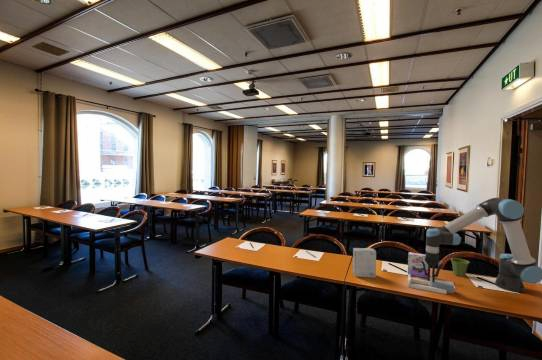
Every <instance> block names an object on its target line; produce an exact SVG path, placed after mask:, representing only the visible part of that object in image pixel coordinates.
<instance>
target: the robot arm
mask: <svg viewBox="0 0 542 360" xmlns="http://www.w3.org/2000/svg"><path fill="white" fill-rule="evenodd" d="M524 212H525V207H524V206H523V204H522V203H520V202H519V201H517V200H514V199H511V198H504V197H503V198H501V197H492V198H491V197H490V198H488V199H487V200H484V201H482V202H480V203H479V204H477V205H476V206H475V208H473V209H471V210H470V211H467V212H466V213H464V214H462V215H461V216H459V217H457V218H455V219H453V220H452V221H450V222H448V223H446V224H444V225H443V226H440V227H434V228H428V229H426V234H425V235H426V236H425V237H426V241H425V255H426V256H425V259H424V260H421V263H422V264H423V268H424V272H425V275H427V276H428V278H427V281H429V285H428V287H432V282H434V281H435V279H436V278H438V277H439V274H440V271H441V268H442V267H443V265H444V264H443V262H440V260H439V256H440V255H439V253H440V245H452V246H458V245H460V243H461V237H460V235H459V234H458V233H457V232H459V231H461V230H463V229H465V228H467V227H468V226H470V225H472V224H475V222H478V221H479V220H481V219H483V218H488V217H490V216H494V215H495V216H496V218H497V221H498V222H499V223H501V224H502V226H503V227H502V228H503V230H504V233H505V235H506V239H507V243H508V245H509V249H510V251H511V253H500V254H499V258H498V259H499V263H498V264H499V265H498V275H497V276H496V279H495V281H494V284H495V286H497V288H500V289H503V290H506V291H510V292H515V293H524V292H525V291H526V287H525V283H529V284H537V283H540V282H541V281H542V267H540V266H538V264H537V261H536V259H535V258H534V257H532V256H531V253H530V249H529V247H528V243H527V240H526V236H525V233H524V231H523V228H522V224H521V221H522V219H523V217H522V216H524V214H525V213H524ZM425 261H426V263H427V264H428V273H427V272H426V268H425V264H424V263H425ZM431 266H432V267H431ZM436 266H437V268H436ZM431 268H432V269H431ZM431 271H432V272H431ZM524 282H525V283H524Z"/></svg>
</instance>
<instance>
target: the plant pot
mask: <svg viewBox="0 0 542 360" xmlns="http://www.w3.org/2000/svg"><path fill="white" fill-rule="evenodd" d="M450 260H451V264H452V266H451V267H452V272H453V275H455V276H459V277H465V276H466V273H467V270H468V266H469V264H470V261H469V260H466V259H463V258H455V257H451V258H450Z"/></svg>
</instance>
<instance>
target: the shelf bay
mask: <svg viewBox="0 0 542 360" xmlns="http://www.w3.org/2000/svg"><path fill="white" fill-rule="evenodd" d="M407 284H408V288H412V289H417V290H422V291H428V292H432V293H438V294H442V295H447V292H446V291H447V290H445V289H439V288H434V287H430V286H429V281H428V280H423V279H417V278H412V277H411V275H410V274H408V273H407Z"/></svg>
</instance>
